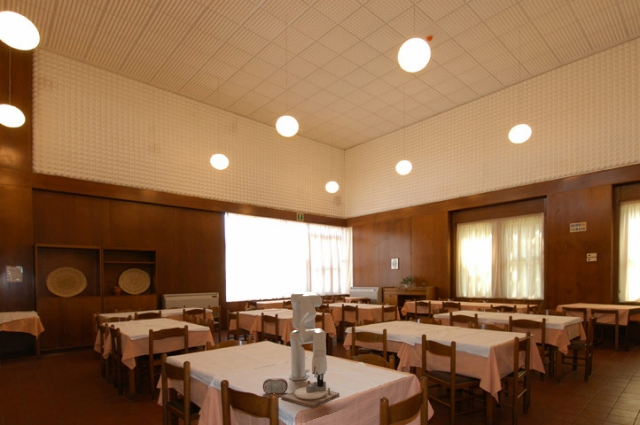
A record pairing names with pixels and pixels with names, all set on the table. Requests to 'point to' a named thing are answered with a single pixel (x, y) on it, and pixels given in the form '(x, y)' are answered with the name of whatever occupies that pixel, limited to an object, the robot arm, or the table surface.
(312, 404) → the dial board
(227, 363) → the table surface
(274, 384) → the tin
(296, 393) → the dial
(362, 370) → the table surface
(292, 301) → the robot arm
